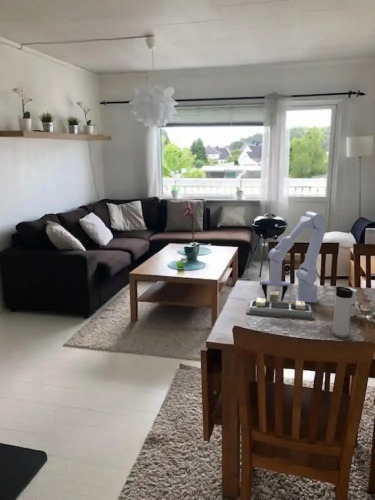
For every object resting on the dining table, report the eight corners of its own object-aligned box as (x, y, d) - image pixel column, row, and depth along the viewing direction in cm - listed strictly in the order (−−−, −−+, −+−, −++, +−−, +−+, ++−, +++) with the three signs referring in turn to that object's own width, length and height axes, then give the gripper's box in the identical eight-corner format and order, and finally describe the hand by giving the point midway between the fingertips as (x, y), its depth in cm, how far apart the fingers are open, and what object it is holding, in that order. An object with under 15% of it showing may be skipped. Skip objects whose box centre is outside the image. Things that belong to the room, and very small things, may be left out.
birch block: (278, 301, 206) (278, 291, 205) (277, 305, 200) (278, 295, 199) (269, 300, 207) (270, 291, 206) (269, 304, 201) (269, 294, 200)
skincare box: (340, 315, 188) (342, 289, 185) (339, 311, 192) (341, 287, 189) (354, 317, 186) (357, 291, 183) (353, 313, 190) (356, 288, 187)
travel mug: (328, 331, 170) (332, 285, 166) (344, 331, 171) (348, 284, 166) (335, 338, 164) (339, 290, 160) (351, 337, 165) (356, 289, 160)
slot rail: (312, 309, 194) (313, 299, 193) (314, 320, 182) (315, 309, 181) (248, 304, 201) (248, 294, 200) (246, 314, 189) (246, 303, 187)
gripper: (259, 274, 198) (258, 301, 201) (290, 276, 195) (289, 303, 198) (260, 270, 205) (259, 296, 208) (290, 272, 202) (289, 299, 205)
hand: (273, 299), depth 203 cm, fingers open, 7 cm apart
